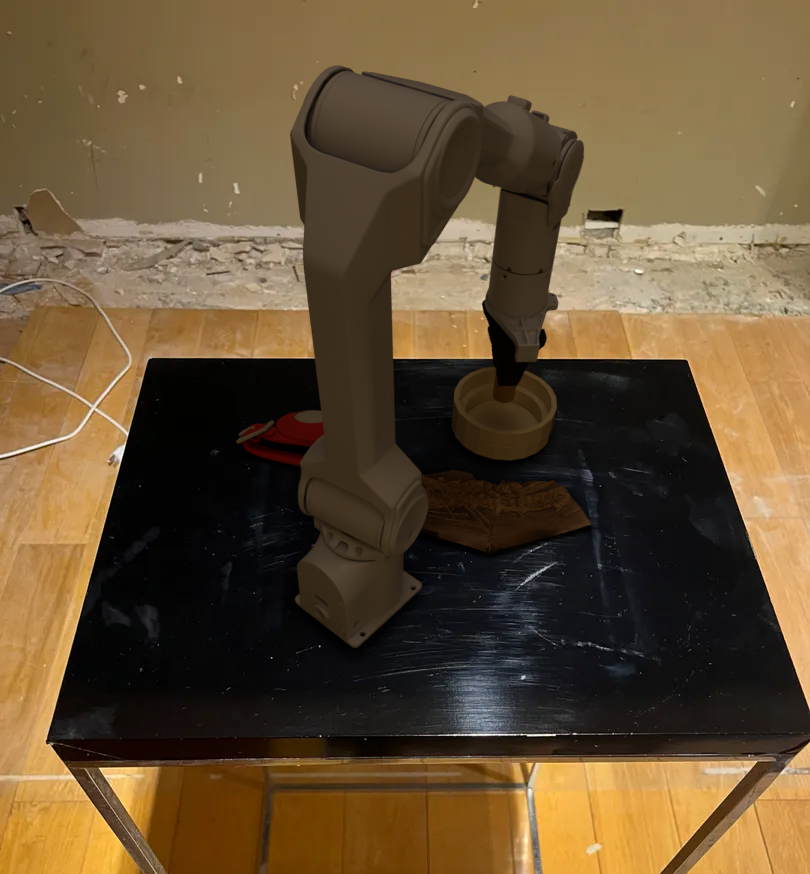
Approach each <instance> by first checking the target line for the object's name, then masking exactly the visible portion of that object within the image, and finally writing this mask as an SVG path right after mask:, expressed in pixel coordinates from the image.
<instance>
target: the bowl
mask: <svg viewBox="0 0 810 874" xmlns="http://www.w3.org/2000/svg"><path fill="white" fill-rule="evenodd" d="M495 372H496V368H495V367H494V366H489V367H488V366H487V367H483V368H480V369H476V370H475V371H471V372H470V373H468V374H467V375H466V376H464V377H463V378H461V379H460V380H459V382H458V383H457V385H456V386H455V388H454V391H453V401H452V411H451V412H452V413H451V425H450V426H451V430H452V432H453V434H454V437H455V438H456V440H458V442H460V444H461V445H462V446H463V447H464V448H466V449H467V450H469V451H470V452H472V453H474V454H476V455H478V456H481V457H484V458H488V459H491V460H498V461H499V460H500V461H517V460H521V459H522V460H523V459H526V458H528V457H530V456H533V455H536V454H537V453H539V452H540V451H541V450H543V449H544V447H545V446H547V444H548V442H549V440H550V438H551V435H552V433H553V428H554V423H555V419H556V415H557V409H558V403H557V396H556V394H555V391H554V390H553V389H552V387H551V386H550V385H549V384H548V383H547V382H546V381H545V380H544V379H543V378H542V377H540V376H537V375H535V374H534V373H532V372H530V371H528V370H525V372H524V374H523V376H522V378H521V380H520V382H519V384H518V385H517V386H516V392H515V398H514V400H513V401H511V402H509V403H500V402H497V401H496V400H495V399H494V398H493V395H492V394H493V387H494V380H495Z"/></svg>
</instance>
